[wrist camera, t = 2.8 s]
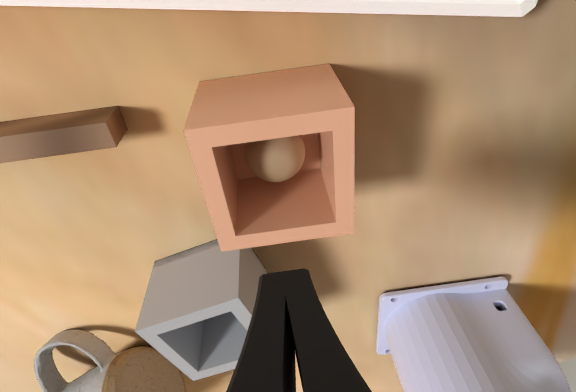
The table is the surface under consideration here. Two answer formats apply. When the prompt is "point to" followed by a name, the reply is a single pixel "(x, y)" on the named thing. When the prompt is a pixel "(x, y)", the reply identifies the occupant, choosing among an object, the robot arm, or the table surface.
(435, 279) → the table surface
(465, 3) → the plate
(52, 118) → the walnut strip
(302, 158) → the cork ball
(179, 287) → the slate pot
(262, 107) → the terracotta pot
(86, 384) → the ceramic mug
